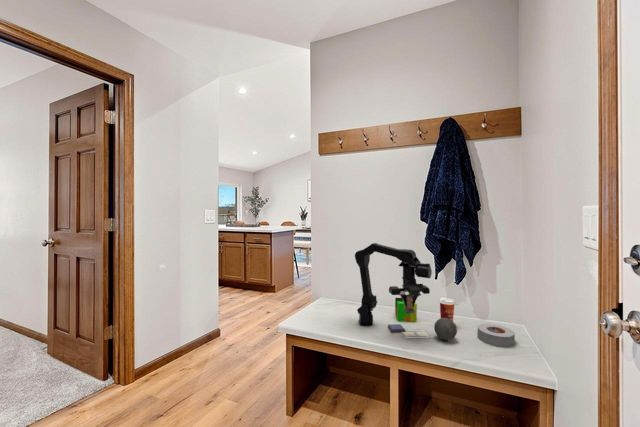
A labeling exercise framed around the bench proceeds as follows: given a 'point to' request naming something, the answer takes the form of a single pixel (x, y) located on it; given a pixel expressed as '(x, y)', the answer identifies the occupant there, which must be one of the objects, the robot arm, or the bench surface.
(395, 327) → the ink pad
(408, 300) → the stamp
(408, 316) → the puzzle toy
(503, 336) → the tape roll
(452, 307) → the paper cup
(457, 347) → the bench surface
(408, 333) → the print card
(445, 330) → the decorative ball
